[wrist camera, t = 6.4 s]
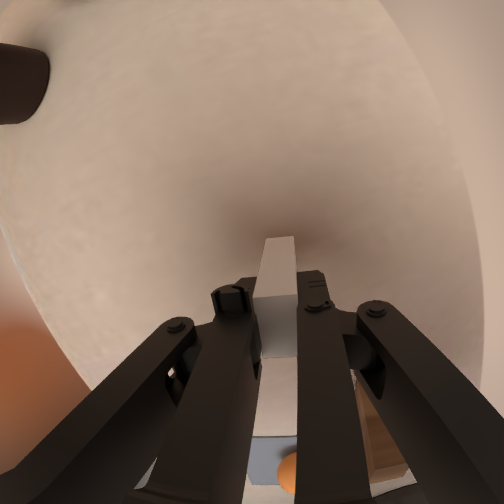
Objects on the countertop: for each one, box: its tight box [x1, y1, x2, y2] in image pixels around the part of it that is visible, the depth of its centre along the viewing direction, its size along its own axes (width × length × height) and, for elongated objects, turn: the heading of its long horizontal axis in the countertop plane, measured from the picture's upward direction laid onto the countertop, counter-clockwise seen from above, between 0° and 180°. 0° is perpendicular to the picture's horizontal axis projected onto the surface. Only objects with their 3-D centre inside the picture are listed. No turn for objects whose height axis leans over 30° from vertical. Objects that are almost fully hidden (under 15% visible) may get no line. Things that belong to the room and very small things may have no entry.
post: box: [355, 379, 409, 484], centre depth 17 cm, size 3×3×9 cm
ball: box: [277, 452, 297, 494], centre depth 23 cm, size 6×6×6 cm
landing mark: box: [247, 436, 297, 485], centre depth 26 cm, size 14×14×1 cm
